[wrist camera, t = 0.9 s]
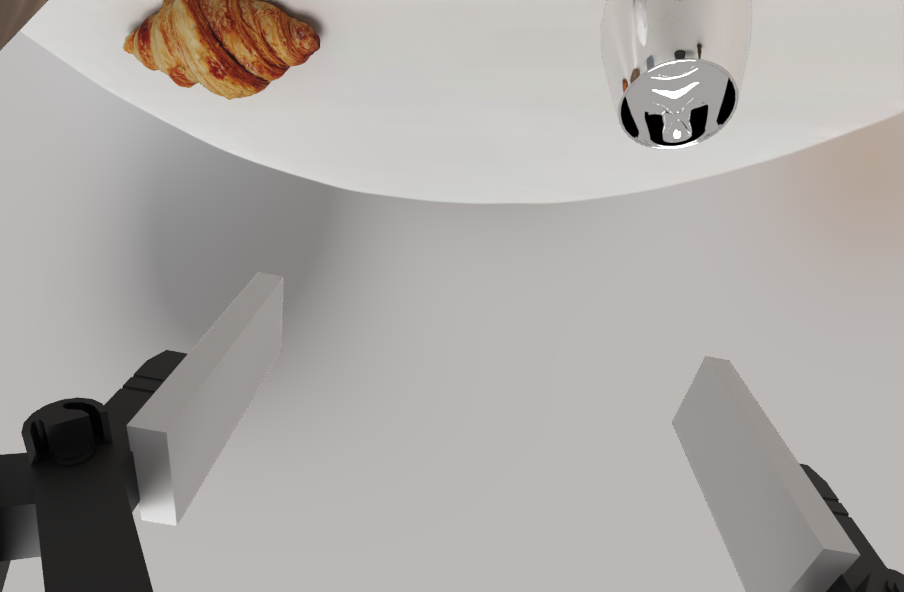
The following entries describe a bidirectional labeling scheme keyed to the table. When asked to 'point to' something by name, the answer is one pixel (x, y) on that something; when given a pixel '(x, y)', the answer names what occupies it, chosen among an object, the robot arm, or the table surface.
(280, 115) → the table surface
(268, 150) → the table surface
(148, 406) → the robot arm
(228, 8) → the croissant
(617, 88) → the wineglass
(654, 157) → the table surface
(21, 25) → the walnut stand
